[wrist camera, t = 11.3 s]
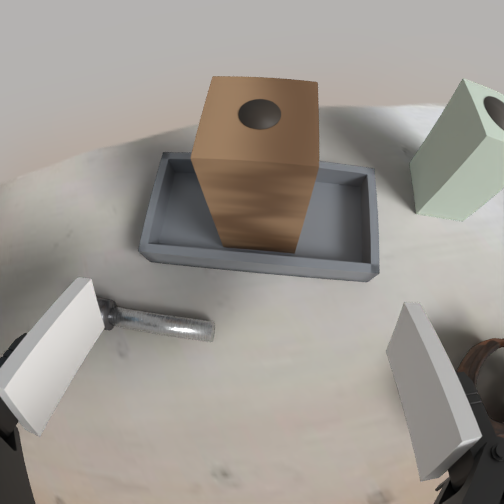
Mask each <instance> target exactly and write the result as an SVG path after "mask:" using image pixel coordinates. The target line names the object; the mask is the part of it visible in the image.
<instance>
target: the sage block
mask: <svg viewBox="0 0 504 504" xmlns="http://www.w3.org/2000/svg"><path fill="white" fill-rule="evenodd" d="M409 165H410V172H411V178H412V185H413V193H414V201H415V210H416V214H418V215H424V216H431V217H437V218H443V219H450V220H455V221H461V222H463V221H464V220H465V219H467V218H468V217H469V216H470V215H472V214H473V213H474V212H476V211H477V210H478V209H479V208H480V207H482V206H483V205H484V204H485V203H487V202H488V201H489V200H490V199H491V198H493V197H494V196H495V195H496V194H497V193H499V192H500V191H501V190H502V189H503V188H504V95H503V94H501V93H498V92H496V91H494V90H492V89H489V88H487V87H485V86H482V85H480V84H477V83H474V82H472V81H469V80H467V79H464V78H463V79H462V81H461V82H460V84H459V86H458V88H457V89H456V91H455V93H454V94H453V96H452V98H451V99H450V101H449V103H448V104H447V106H446V107H445V109H444V111H443V112H442V114H441V116H440V117H439V119H438V120H437V122H436V124H435V125H434V127H433V128H432V130H431V131H430V133H429V135H428V136H427V138H426V139H425V141H424V142H423V144H422V145H421V147H420V148H419V150H418V151H417V153H416V154H415V156H414V157H413V159H412V160H411V162H410V163H409Z"/></svg>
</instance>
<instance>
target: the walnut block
mask: <svg viewBox="0 0 504 504" xmlns="http://www.w3.org/2000/svg"><path fill="white" fill-rule="evenodd" d="M191 161H192V164H193V167H194V169H195V172H196V175H197V178H198V180H199V183H200V186H201V189H202V191H203V194H204V197H205V199H206V202H207V205H208V207H209V210H210V213H211V215H212V218H213V221H214V223H215V226H216V229H217V231H218V234H219V237H220V239H221V242H222V245H223V247H226V248H237V249H249V250H260V251H271V252H282V253H293V254H295V251H296V247H297V244H298V240H299V237H300V234H301V230H302V227H303V223H304V220H305V216H306V213H307V209H308V206H309V202H310V198H311V195H312V191H313V188H314V184H315V180H316V177H317V173H318V169H319V109H318V83H317V82H311V81H302V80H291V79H279V78H278V79H277V78H263V77H230V76H228V77H225V76H223V77H222V76H221V77H220V76H217V77H216V76H213V77H212V80H211V84H210V87H209V91H208V94H207V97H206V101H205V105H204V108H203V112H202V115H201V119H200V123H199V126H198V130H197V134H196V138H195V142H194V146H193V150H192V154H191Z"/></svg>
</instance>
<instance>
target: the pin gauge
mask: <svg viewBox="0 0 504 504" xmlns="http://www.w3.org/2000/svg"><path fill="white" fill-rule="evenodd" d="M96 298H97V302H98V306H99V309H100V313H101V316H102V320H103V323H104V326H105V328H104V329H105V330H111V329H112V328H113V327H114V326H117V327H122V328H127V329H133V330H138V331H143V332H149V333H155V334H161V335H166V336H173V337H179V338H186V339H192V340H199V341H206V342H212V341H213V338H214V331H215V323H214V322H213V321H205V320H198V319H190V318H183V317H176V316H169V315H162V314H156V313H150V312H143V311H137V310H131V309H126V308H120V307H117V305H116V303H115V301H113V300H109V299H103V298H98V297H96Z"/></svg>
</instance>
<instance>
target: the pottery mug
mask: <svg viewBox="0 0 504 504" xmlns="http://www.w3.org/2000/svg"><path fill="white" fill-rule="evenodd" d="M501 347H504V339H496V338H493V339H489V340H486V341H483V342H481V343H479V344H478V345H475V346H473V347H472V348H471V349H470V350H469V352H468V353H467V354H466V356H465V357H464V359H463V360H462V362H461V364H460V366H459V368H458V370H457V372H465V374H466V375H467V376H468V377H469V378H470V379H471V380H472V381H473V383H474V385H475V387H476V382H477V376H478V373H479V370H480V368H481V366H482V364H483V362H484V361H485V359H486V358H487V357H488V356H489V355H490V354H491V353H493V352H494V351H496V350H497V349H498V348H501ZM489 419H490V421H491V424H492V426H493V429H494V431H495V434H496V436H497V437H502V438H504V423H499V422H496V421H494V420H492V419H491V418H489Z"/></svg>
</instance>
